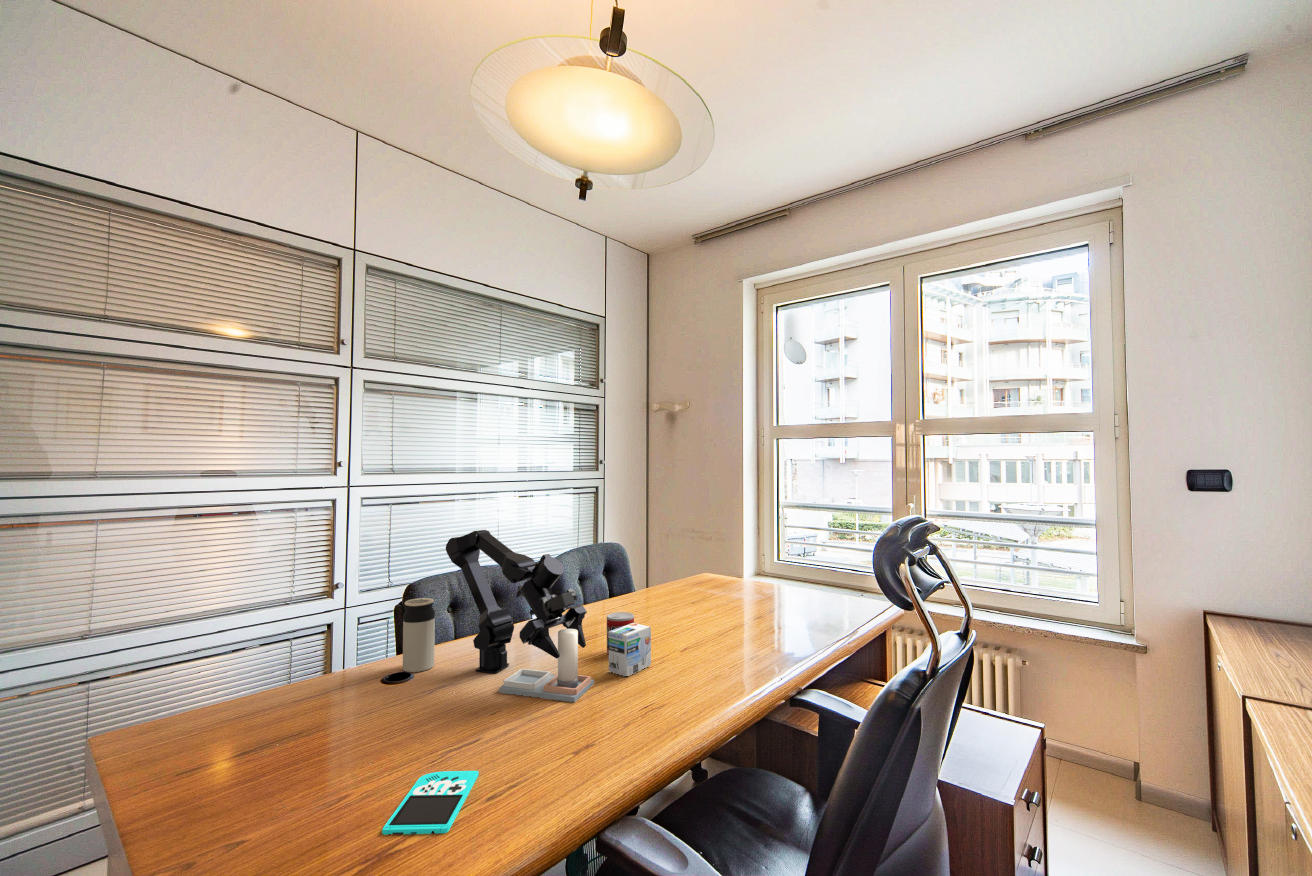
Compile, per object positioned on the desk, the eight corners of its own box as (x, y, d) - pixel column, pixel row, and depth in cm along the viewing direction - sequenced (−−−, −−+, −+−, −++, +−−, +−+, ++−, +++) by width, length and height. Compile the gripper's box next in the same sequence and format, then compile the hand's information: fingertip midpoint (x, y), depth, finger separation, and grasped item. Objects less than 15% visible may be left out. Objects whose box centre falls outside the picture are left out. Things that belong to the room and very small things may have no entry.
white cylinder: (555, 690, 132) (556, 634, 133) (558, 682, 137) (559, 628, 138) (576, 689, 133) (577, 634, 133) (579, 681, 138) (579, 628, 138)
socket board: (499, 692, 134) (499, 682, 135) (523, 676, 145) (523, 666, 145) (574, 702, 128) (574, 691, 128) (594, 684, 139) (594, 674, 139)
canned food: (603, 651, 164) (603, 613, 164) (628, 647, 167) (628, 610, 168) (612, 659, 157) (612, 620, 157) (638, 655, 160) (638, 616, 161)
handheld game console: (480, 777, 99) (480, 769, 99) (448, 836, 83) (448, 827, 83) (423, 778, 98) (423, 770, 98) (380, 838, 82) (380, 828, 82)
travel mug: (426, 673, 148) (427, 604, 149) (397, 673, 148) (398, 604, 149) (438, 662, 156) (439, 597, 157) (410, 662, 156) (411, 597, 157)
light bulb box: (626, 678, 143) (626, 635, 144) (607, 672, 147) (607, 631, 148) (652, 666, 151) (651, 626, 152) (633, 661, 156) (632, 622, 156)
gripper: (527, 586, 131) (561, 642, 124) (581, 573, 146) (614, 622, 139) (505, 615, 135) (537, 671, 128) (559, 600, 150) (590, 648, 143)
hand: (571, 651), depth 135 cm, fingers open, 9 cm apart
